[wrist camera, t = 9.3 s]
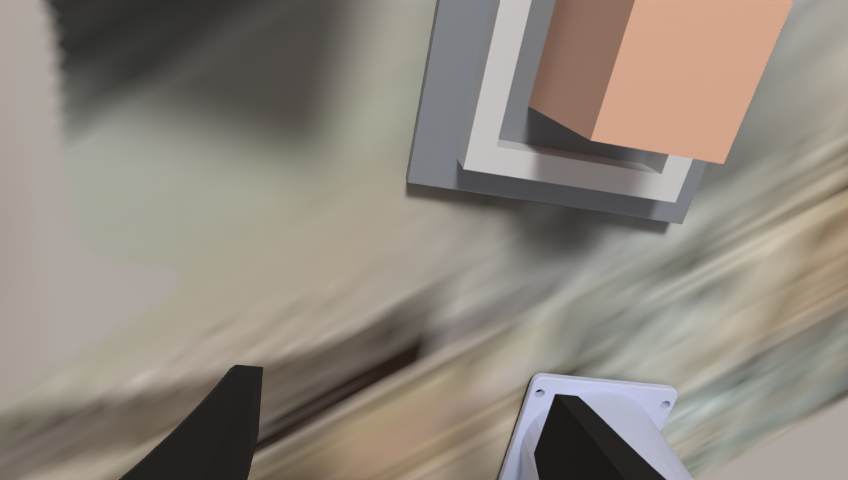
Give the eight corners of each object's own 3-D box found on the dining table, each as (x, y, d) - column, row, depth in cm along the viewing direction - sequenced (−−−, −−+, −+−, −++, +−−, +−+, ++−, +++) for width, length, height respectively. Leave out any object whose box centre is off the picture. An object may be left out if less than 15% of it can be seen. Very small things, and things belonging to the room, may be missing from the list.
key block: (696, -84, 17) (852, -136, 11) (625, 123, 19) (723, 164, 14) (585, -113, 16) (692, -183, 11) (528, 105, 19) (590, 140, 13)
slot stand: (669, 215, 22) (702, 238, 20) (406, 175, 20) (410, 194, 18) (821, -164, 17) (891, -194, 15) (483, -265, 15) (501, -316, 13)
